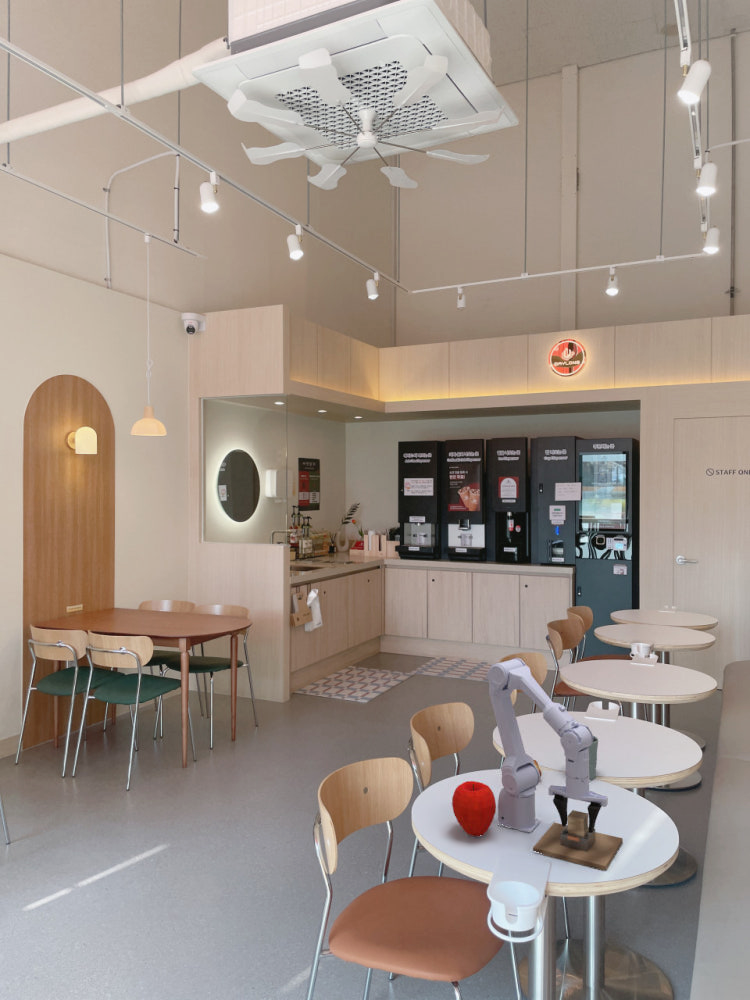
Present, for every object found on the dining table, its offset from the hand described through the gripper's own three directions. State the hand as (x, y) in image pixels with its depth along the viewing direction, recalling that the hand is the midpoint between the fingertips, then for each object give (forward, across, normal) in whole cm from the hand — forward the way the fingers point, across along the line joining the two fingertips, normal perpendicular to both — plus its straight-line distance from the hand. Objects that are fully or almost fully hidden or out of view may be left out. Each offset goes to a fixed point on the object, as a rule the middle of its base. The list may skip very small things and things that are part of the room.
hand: (578, 828), depth 190 cm
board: (+5, 0, 0) cm, 5 cm away
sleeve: (+4, 0, 0) cm, 4 cm away
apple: (+5, +26, +6) cm, 27 cm away
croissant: (+5, +27, -35) cm, 45 cm away
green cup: (+5, +13, -46) cm, 48 cm away
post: (+4, 0, 0) cm, 4 cm away
